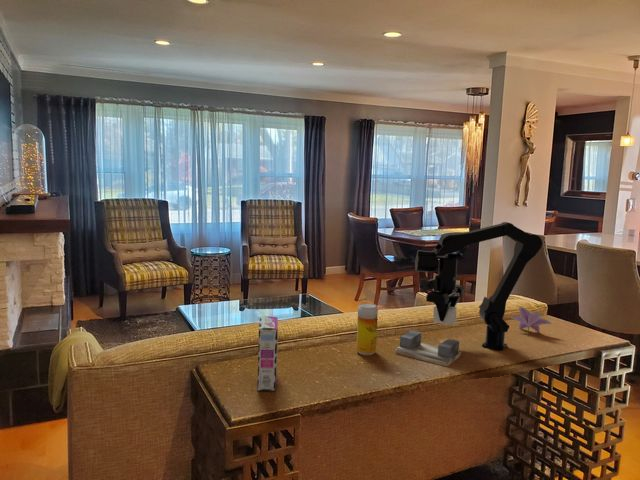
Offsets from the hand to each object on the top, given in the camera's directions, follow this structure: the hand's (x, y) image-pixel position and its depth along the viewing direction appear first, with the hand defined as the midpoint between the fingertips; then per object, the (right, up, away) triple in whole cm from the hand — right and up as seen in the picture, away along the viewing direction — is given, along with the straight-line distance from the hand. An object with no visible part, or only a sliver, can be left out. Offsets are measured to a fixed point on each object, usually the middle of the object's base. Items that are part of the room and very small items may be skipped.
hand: (444, 319), depth 165 cm
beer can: (-26, -9, -8) cm, 29 cm away
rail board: (-7, -10, -9) cm, 15 cm away
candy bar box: (-55, -12, -32) cm, 65 cm away
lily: (+34, -8, +15) cm, 38 cm away
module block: (0, -1, 0) cm, 1 cm away
